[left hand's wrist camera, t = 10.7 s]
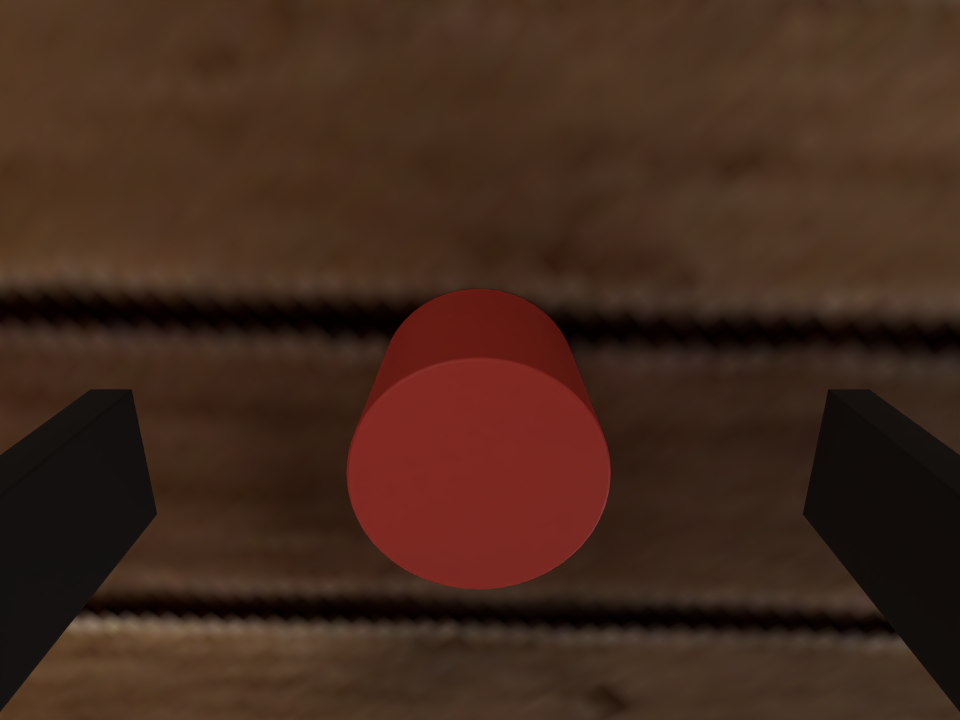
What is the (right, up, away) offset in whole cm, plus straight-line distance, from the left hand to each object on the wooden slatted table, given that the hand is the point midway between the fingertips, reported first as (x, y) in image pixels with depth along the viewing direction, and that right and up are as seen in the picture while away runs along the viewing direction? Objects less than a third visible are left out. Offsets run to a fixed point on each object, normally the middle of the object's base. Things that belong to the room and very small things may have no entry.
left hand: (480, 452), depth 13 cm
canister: (0, +1, +3) cm, 4 cm away
